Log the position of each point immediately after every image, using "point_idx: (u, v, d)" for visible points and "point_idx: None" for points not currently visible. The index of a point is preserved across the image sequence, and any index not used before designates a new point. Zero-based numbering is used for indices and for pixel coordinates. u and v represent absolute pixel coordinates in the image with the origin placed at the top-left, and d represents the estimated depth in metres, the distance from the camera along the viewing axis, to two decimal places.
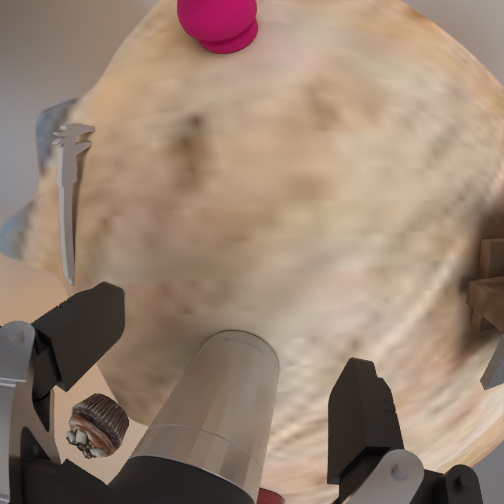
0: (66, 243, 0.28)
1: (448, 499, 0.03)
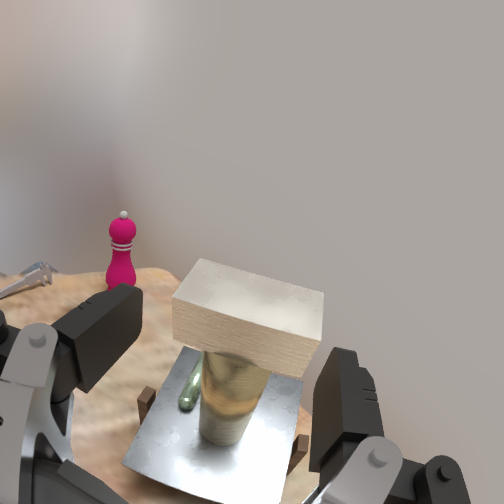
0: (3, 291, 0.42)
1: (430, 492, 0.03)
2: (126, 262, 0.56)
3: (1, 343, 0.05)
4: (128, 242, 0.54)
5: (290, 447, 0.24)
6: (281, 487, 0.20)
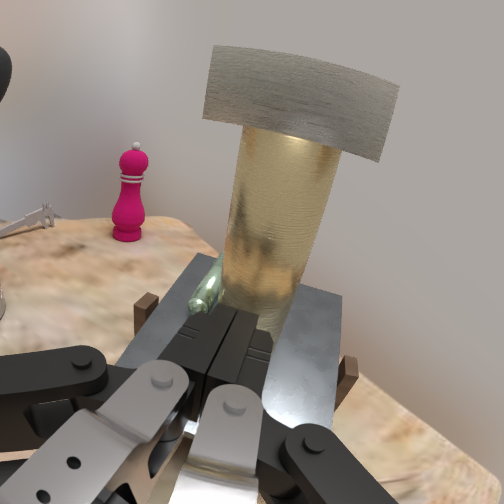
0: None
1: (301, 471, 0.04)
2: (135, 196, 0.51)
3: (92, 395, 0.05)
4: (139, 174, 0.50)
5: (336, 371, 0.20)
6: (329, 426, 0.16)
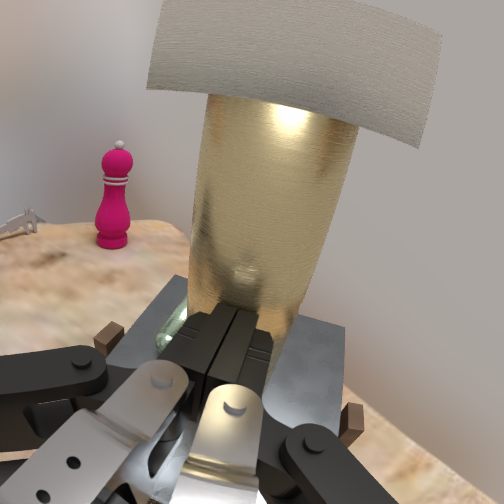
0: None
1: (302, 471, 0.04)
2: (118, 200, 0.46)
3: (92, 394, 0.05)
4: (122, 175, 0.45)
5: (337, 424, 0.15)
6: None
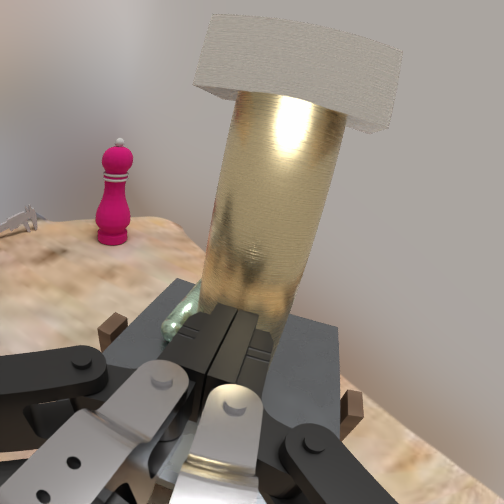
0: None
1: (301, 471, 0.04)
2: (119, 196, 0.47)
3: (92, 394, 0.05)
4: (123, 172, 0.45)
5: (338, 406, 0.16)
6: None
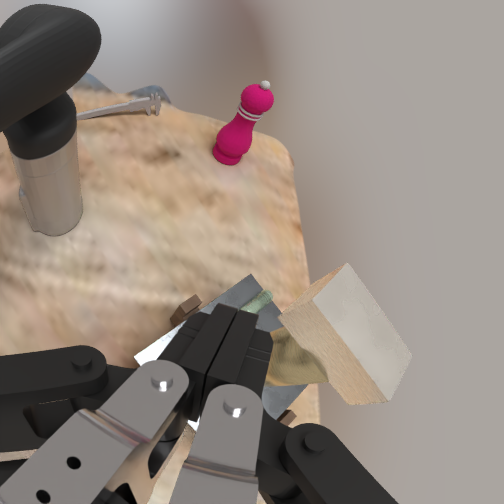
0: (98, 111, 0.47)
1: (301, 471, 0.04)
2: (246, 130, 0.50)
3: (92, 395, 0.05)
4: (258, 113, 0.47)
5: (277, 416, 0.29)
6: None
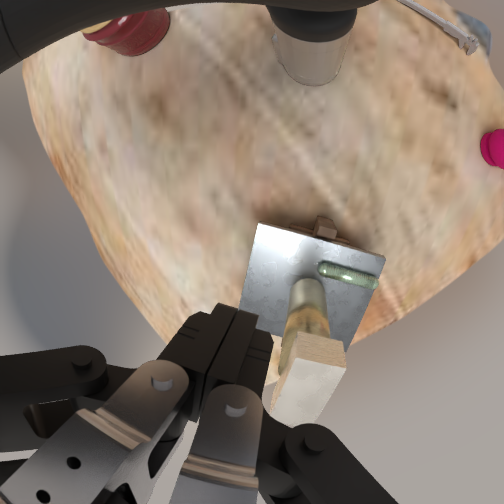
0: (411, 4, 0.27)
1: (301, 471, 0.04)
2: None
3: (92, 395, 0.05)
4: None
5: None
6: (256, 328, 0.42)
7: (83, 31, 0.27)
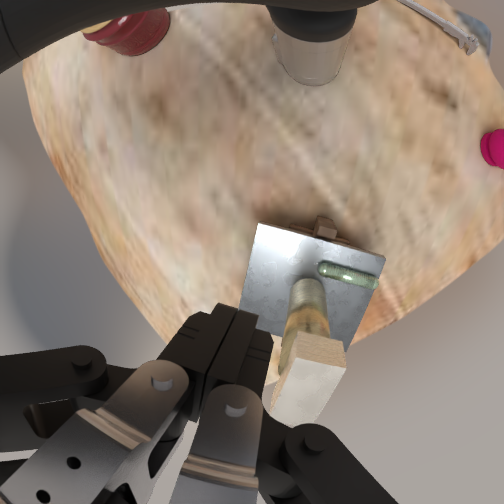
0: (411, 4, 0.27)
1: (302, 471, 0.04)
2: None
3: (92, 395, 0.05)
4: None
5: None
6: (256, 328, 0.42)
7: (83, 31, 0.27)
